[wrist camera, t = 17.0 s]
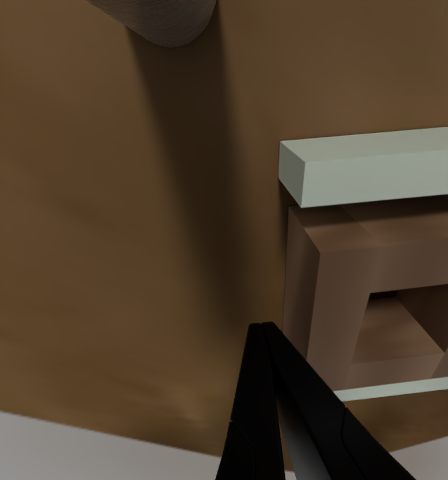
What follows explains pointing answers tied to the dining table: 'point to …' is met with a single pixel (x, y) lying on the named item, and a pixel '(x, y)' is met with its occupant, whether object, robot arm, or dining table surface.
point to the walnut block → (369, 290)
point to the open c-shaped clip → (368, 190)
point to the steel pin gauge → (161, 18)
